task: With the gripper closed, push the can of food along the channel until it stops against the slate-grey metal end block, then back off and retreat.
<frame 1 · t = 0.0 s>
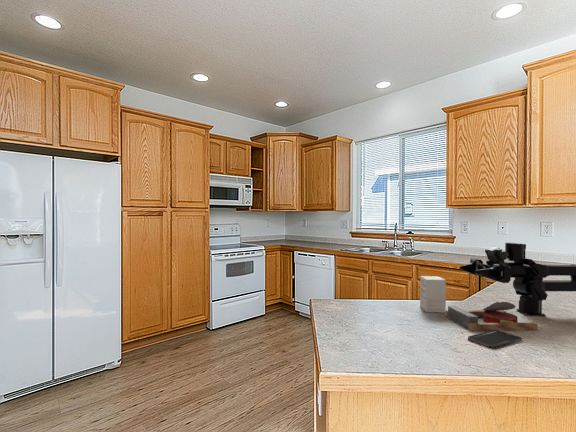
hand: (467, 269, 118), 17 cm above the counter, tool horizontal, fingers open, 9 cm apart
supplement box: (432, 310, 123), on the counter
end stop: (462, 322, 108), on the counter
guide channel: (488, 322, 109), on the counter
phone: (494, 342, 93), on the counter
canned food: (499, 323, 109), on the counter
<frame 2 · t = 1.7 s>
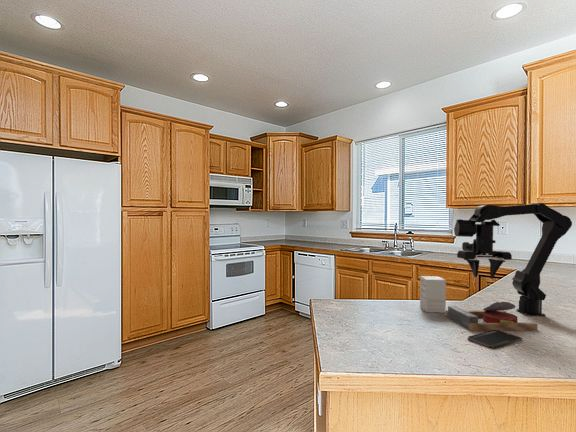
hand: (483, 277, 123), 13 cm above the counter, tool pointing down, fingers open, 6 cm apart
nothing on the counter moved.
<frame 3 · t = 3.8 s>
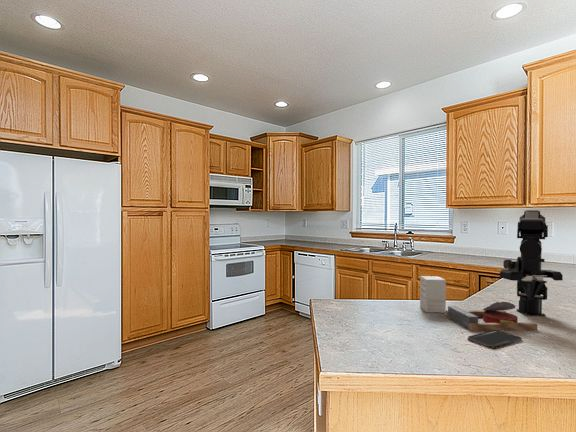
hand: (530, 299, 110), 8 cm above the counter, tool pointing down, fingers closed
nothing on the counter moved.
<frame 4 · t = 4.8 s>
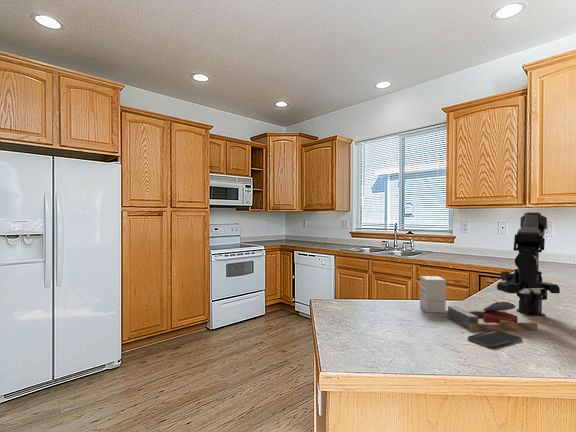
hand: (527, 312, 109), 4 cm above the counter, tool pointing down, fingers closed
nothing on the counter moved.
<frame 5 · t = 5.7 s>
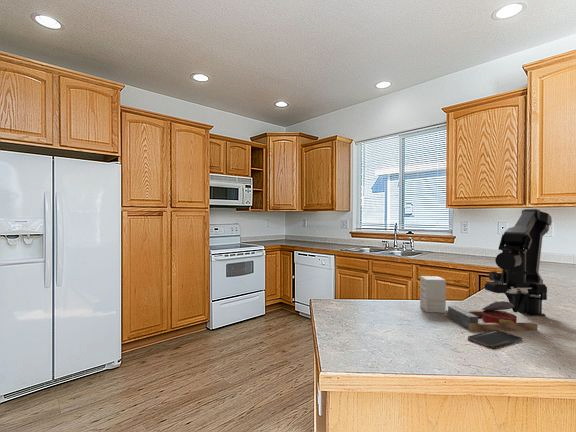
hand: (515, 312, 109), 4 cm above the counter, tool pointing down, fingers closed
canned food: (498, 323, 109), on the counter, touching gripper
everything else where it was.
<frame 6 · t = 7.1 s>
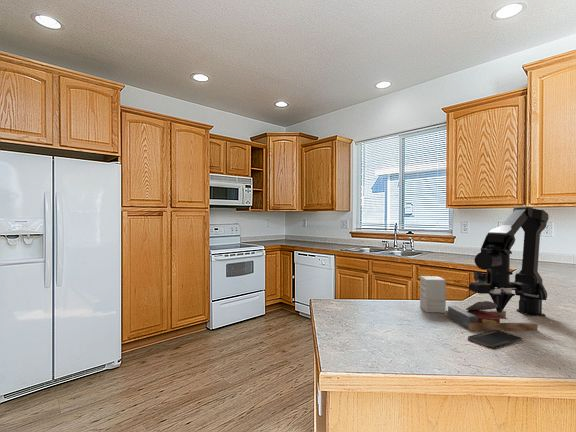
hand: (499, 312, 109), 3 cm above the counter, tool pointing down, fingers closed
canned food: (482, 323, 108), on the counter, touching gripper
everything else where it was.
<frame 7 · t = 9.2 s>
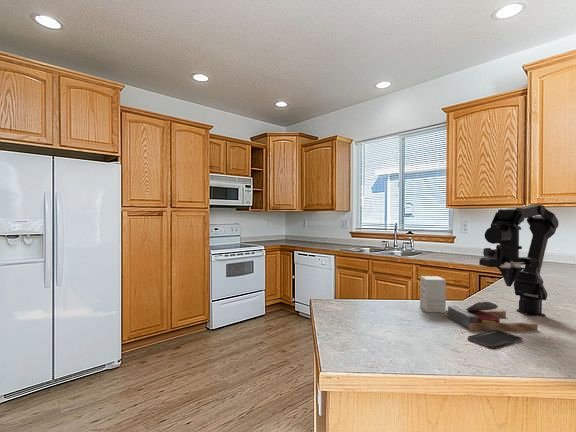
hand: (508, 286, 113), 12 cm above the counter, tool pointing down, fingers closed
canned food: (482, 323, 108), on the counter
everything else where it was.
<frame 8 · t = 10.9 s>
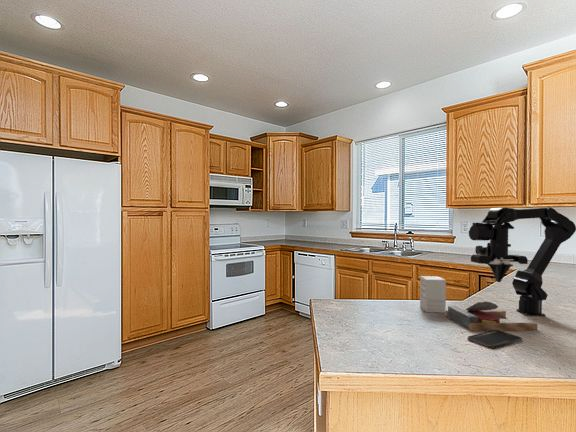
hand: (498, 281, 119), 12 cm above the counter, tool pointing down, fingers closed
nothing on the counter moved.
at the end: canned food 0.2 cm from the target spot, on the counter; canned food tilted 0°; canned food moved 6.3 cm from its start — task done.
